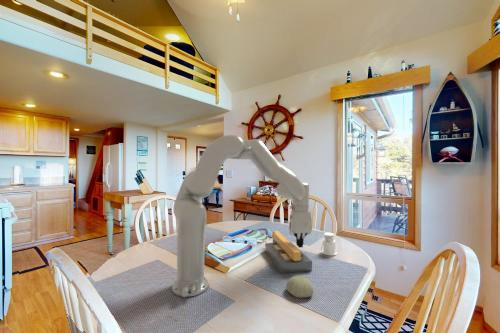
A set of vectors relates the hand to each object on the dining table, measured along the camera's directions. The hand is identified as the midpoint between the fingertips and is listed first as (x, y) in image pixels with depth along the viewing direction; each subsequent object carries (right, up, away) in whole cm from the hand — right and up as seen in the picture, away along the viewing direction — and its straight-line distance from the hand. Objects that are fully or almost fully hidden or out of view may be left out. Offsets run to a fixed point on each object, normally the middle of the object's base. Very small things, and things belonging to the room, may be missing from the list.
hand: (299, 246), depth 106 cm
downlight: (+17, -7, +8) cm, 20 cm away
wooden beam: (-7, -1, +1) cm, 7 cm away
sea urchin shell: (-6, -7, -28) cm, 29 cm away
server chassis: (-7, -6, +1) cm, 9 cm away
